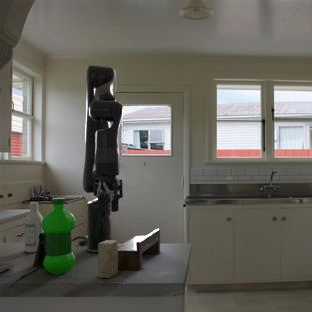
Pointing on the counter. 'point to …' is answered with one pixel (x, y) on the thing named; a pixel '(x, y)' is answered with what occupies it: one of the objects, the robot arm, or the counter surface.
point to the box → (108, 258)
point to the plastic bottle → (58, 238)
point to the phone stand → (40, 251)
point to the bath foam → (33, 228)
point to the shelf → (138, 250)
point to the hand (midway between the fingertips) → (107, 210)
